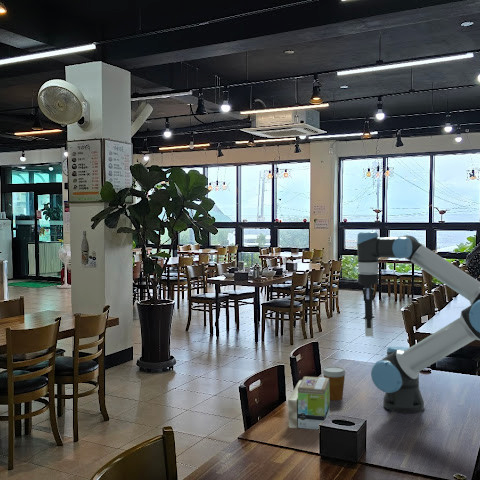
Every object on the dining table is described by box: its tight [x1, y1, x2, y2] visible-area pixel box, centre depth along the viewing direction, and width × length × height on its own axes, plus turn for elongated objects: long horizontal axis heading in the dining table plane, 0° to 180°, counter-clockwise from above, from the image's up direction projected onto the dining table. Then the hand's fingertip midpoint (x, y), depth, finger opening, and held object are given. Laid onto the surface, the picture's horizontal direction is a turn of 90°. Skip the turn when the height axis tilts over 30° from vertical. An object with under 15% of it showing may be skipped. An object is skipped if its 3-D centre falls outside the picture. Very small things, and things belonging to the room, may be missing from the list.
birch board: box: [287, 379, 302, 429], centre depth 207 cm, size 3×24×10 cm, turn 164°
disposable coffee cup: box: [322, 365, 347, 401], centre depth 226 cm, size 10×10×12 cm
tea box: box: [297, 376, 331, 431], centre depth 200 cm, size 15×10×15 cm, turn 165°
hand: (369, 336), depth 206 cm, fingers closed
